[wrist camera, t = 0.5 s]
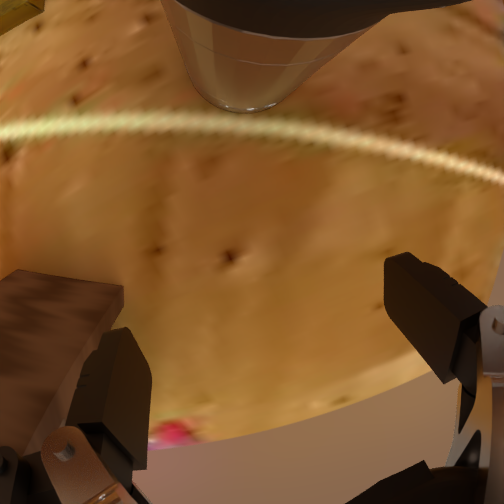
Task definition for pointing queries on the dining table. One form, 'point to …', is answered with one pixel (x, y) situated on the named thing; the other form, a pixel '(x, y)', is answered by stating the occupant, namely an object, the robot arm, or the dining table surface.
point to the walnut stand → (46, 349)
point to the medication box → (18, 12)
